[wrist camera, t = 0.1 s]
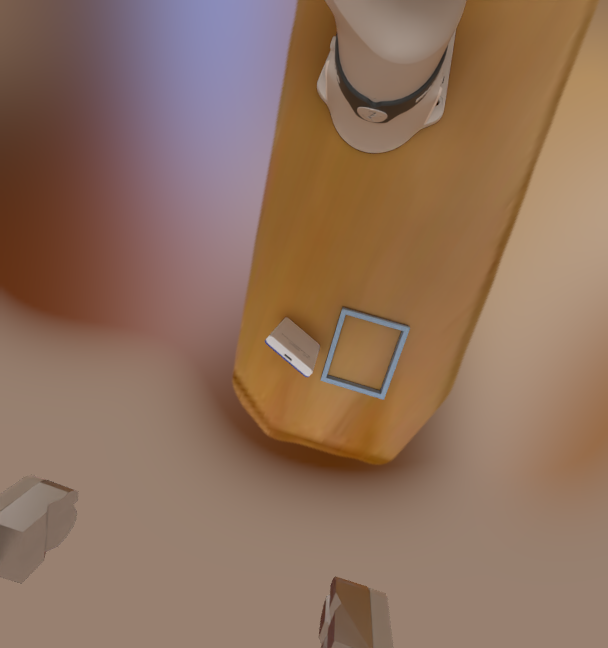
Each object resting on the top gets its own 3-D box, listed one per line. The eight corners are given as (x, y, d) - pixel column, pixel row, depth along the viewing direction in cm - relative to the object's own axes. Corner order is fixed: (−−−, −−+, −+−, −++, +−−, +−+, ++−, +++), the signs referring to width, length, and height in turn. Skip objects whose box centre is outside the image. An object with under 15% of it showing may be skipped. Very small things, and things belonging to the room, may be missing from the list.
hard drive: (315, 351, 58) (306, 378, 47) (280, 322, 58) (263, 342, 46) (321, 345, 58) (313, 371, 46) (286, 316, 58) (269, 334, 46)
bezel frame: (342, 307, 56) (342, 308, 54) (408, 325, 55) (410, 328, 54) (321, 377, 59) (320, 380, 58) (382, 395, 59) (383, 399, 57)
